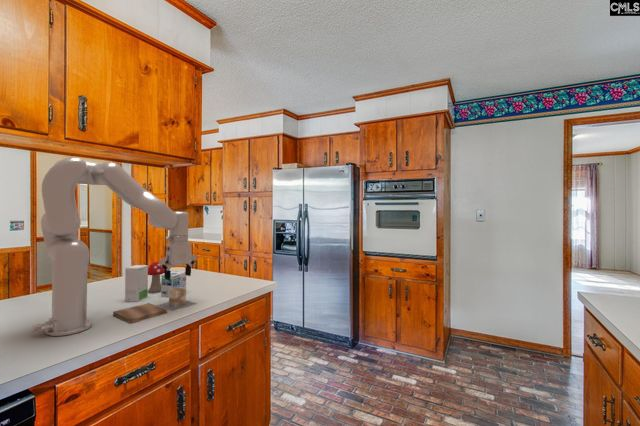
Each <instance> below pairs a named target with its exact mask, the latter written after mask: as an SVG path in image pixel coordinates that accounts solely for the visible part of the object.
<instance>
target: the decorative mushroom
mask: <svg viewBox="0 0 640 426" xmlns="http://www.w3.org/2000/svg"><path fill="white" fill-rule="evenodd" d="M164 274H165V270H163V268H162V267H161V265H160V264H159V261H154V262H153V263H151V264H150V265H149V266H148V276H151V283H150V287H149V292H150V293H151V294H152V293H153V294H155V293H161V276H162V275H164Z"/></svg>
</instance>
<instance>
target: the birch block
mask: <svg viewBox="0 0 640 426" xmlns="http://www.w3.org/2000/svg"><path fill="white" fill-rule="evenodd" d="M186 300H187V287H186V288H182V287H177V288H172V289H169V297H168V302H169V305H171V306H174V307H177V306H181V305H184V304H186Z"/></svg>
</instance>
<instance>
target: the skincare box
mask: <svg viewBox="0 0 640 426" xmlns="http://www.w3.org/2000/svg"><path fill="white" fill-rule="evenodd" d="M148 268H149V266H148V264H147V265H145V264H136V265H130V266H126V267H125V269H124V271H125V277H124V281H125V282H124V283H125V284H124V285H125V286H124V302H126V303H128V302H129V303H132V302H133V303H138V302H141V301H143V300H145V299H147V298H148V293H149V292H148V287H149V285H148V283H149V282H148V280H149V279H148V278H149V275H148Z"/></svg>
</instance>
